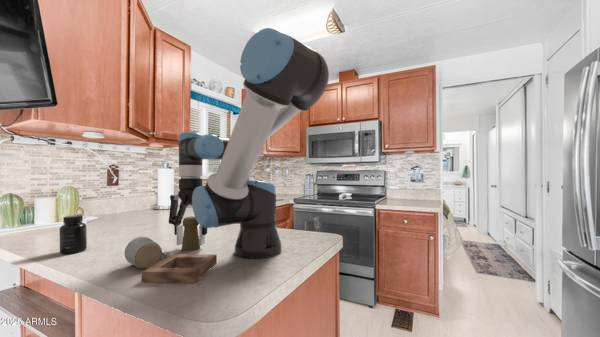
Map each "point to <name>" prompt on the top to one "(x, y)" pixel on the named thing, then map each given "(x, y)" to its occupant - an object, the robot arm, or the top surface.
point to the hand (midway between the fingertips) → (190, 244)
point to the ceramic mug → (144, 252)
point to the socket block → (169, 274)
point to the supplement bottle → (73, 235)
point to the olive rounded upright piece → (190, 234)
